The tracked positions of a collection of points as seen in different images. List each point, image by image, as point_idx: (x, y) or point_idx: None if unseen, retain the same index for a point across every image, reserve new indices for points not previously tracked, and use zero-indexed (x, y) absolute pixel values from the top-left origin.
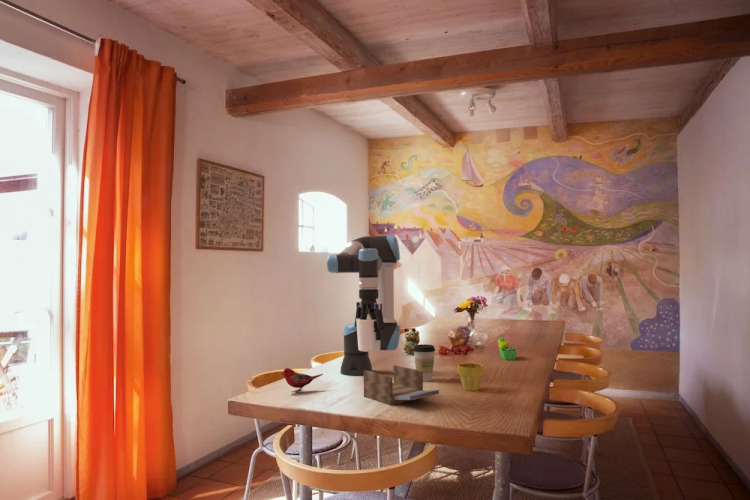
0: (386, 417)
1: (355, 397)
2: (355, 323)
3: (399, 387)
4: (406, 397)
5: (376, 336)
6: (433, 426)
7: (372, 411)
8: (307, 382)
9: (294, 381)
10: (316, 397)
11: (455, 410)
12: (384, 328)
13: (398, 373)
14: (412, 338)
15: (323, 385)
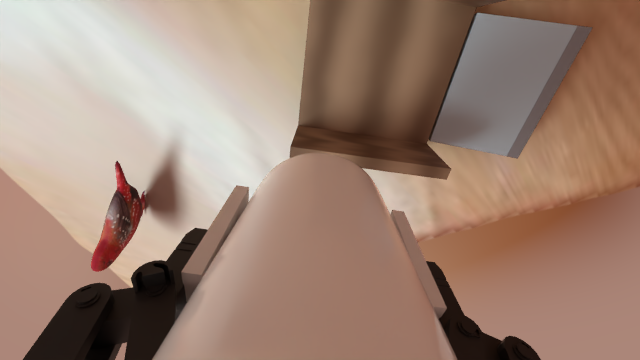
0: (459, 214)
1: (288, 147)
2: (92, 358)
3: (380, 32)
4: (488, 151)
5: None
6: (581, 200)
7: (407, 203)
8: (137, 198)
9: (133, 231)
10: (222, 205)
11: (621, 59)
12: (538, 356)
13: None
14: None
15: (104, 114)
